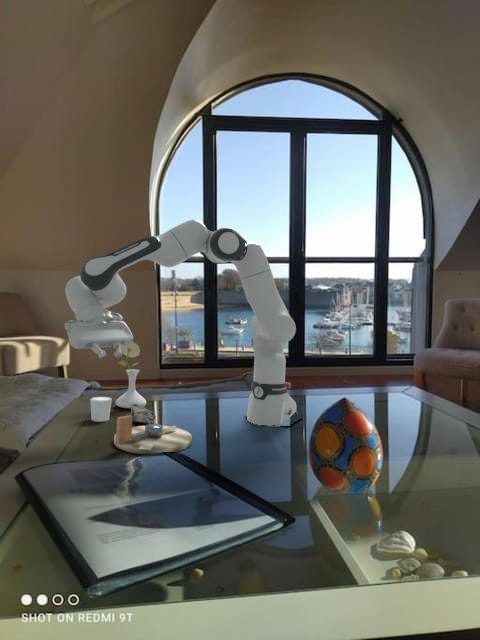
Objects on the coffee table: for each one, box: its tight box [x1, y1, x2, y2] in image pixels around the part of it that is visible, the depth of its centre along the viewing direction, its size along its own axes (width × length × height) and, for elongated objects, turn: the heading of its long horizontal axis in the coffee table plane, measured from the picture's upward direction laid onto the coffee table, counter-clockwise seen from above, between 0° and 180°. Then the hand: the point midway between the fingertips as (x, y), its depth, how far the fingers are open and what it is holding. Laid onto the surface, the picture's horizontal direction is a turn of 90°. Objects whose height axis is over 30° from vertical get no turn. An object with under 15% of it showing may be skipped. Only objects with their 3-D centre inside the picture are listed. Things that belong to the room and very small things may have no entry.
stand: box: [113, 425, 193, 455], centre depth 130 cm, size 22×22×2 cm
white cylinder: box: [90, 396, 113, 423], centre depth 150 cm, size 7×7×7 cm
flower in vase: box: [114, 340, 147, 409], centre depth 168 cm, size 13×11×25 cm
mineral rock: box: [130, 404, 156, 424], centre depth 151 cm, size 15×8×4 cm, turn 16°
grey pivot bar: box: [115, 414, 178, 444], centre depth 128 cm, size 21×5×7 cm, turn 141°
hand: (111, 356), depth 133 cm, fingers open, 4 cm apart
